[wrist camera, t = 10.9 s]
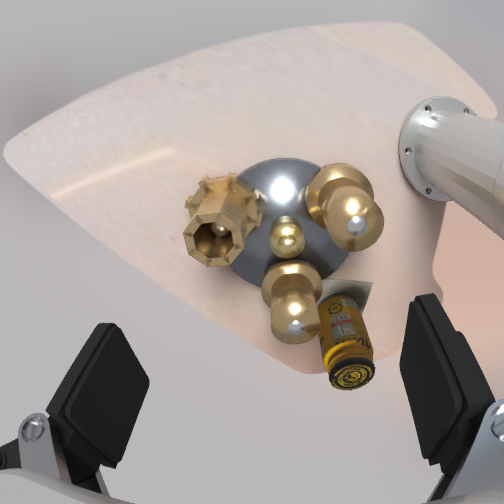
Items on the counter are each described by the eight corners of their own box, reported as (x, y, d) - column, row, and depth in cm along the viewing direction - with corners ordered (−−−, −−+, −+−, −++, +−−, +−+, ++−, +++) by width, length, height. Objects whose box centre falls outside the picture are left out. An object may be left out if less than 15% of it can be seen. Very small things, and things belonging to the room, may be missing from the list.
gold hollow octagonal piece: (255, 168, 32) (252, 191, 25) (264, 236, 36) (263, 274, 29) (183, 179, 33) (160, 204, 26) (197, 243, 36) (181, 282, 29)
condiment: (307, 327, 43) (316, 395, 33) (319, 277, 39) (334, 345, 29) (356, 329, 43) (374, 394, 33) (372, 281, 39) (400, 345, 29)
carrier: (364, 150, 31) (397, 171, 23) (364, 292, 40) (383, 340, 32) (203, 168, 33) (181, 195, 25) (233, 306, 42) (225, 357, 34)
